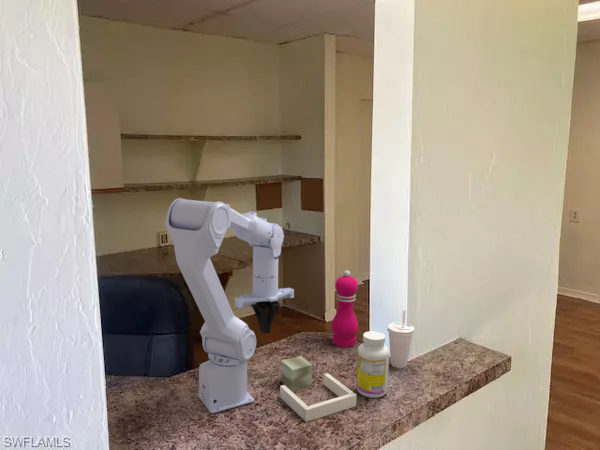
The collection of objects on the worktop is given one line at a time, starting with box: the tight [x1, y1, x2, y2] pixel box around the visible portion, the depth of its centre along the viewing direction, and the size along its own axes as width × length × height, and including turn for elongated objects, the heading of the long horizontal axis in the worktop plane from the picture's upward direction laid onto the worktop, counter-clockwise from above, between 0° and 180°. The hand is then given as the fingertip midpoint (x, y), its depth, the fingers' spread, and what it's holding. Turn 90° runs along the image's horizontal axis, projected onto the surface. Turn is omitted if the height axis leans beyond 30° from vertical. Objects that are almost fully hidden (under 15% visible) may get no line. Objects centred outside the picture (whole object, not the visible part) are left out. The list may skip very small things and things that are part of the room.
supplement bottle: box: [356, 330, 390, 399], centre depth 105 cm, size 7×7×13 cm
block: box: [280, 355, 313, 392], centre depth 108 cm, size 5×5×5 cm
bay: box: [279, 372, 357, 423], centre depth 101 cm, size 12×10×2 cm
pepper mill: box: [330, 270, 359, 348], centre depth 129 cm, size 7×7×20 cm
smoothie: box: [386, 309, 415, 369], centre depth 118 cm, size 6×6×14 cm
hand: (264, 331), depth 113 cm, fingers closed
